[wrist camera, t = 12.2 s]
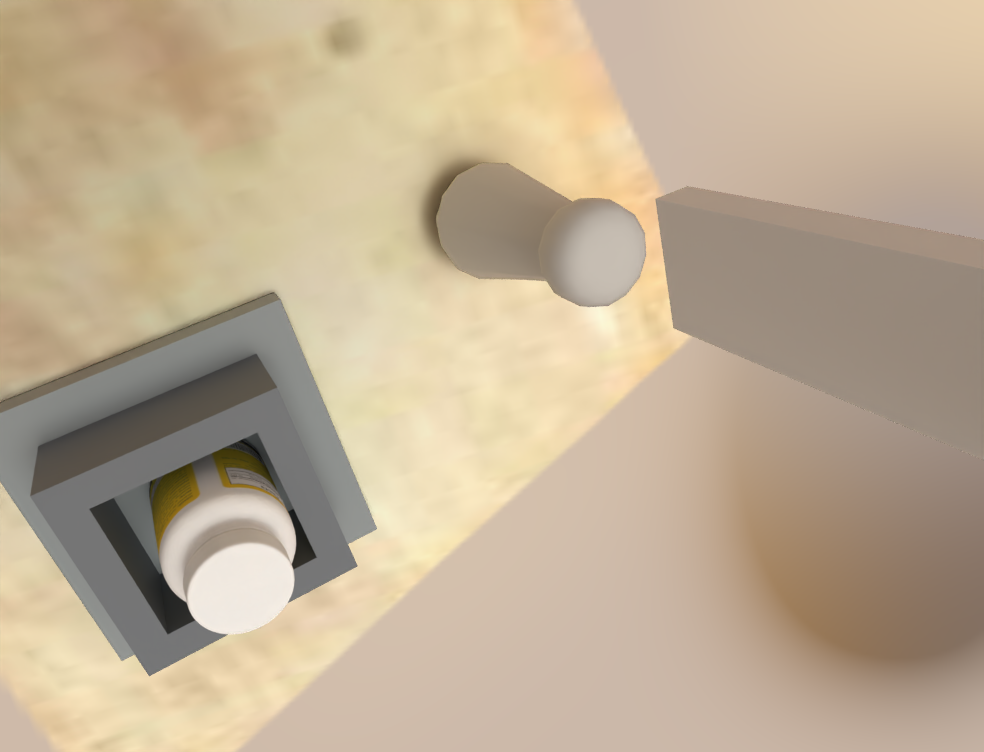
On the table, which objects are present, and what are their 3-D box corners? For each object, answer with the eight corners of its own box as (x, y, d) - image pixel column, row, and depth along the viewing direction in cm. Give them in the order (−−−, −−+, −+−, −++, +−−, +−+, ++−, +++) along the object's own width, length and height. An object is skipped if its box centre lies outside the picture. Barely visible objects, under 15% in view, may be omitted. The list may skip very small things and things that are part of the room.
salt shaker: (505, 278, 43) (646, 342, 32) (410, 259, 40) (528, 321, 29) (532, 173, 42) (689, 201, 31) (436, 145, 39) (570, 165, 28)
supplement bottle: (163, 544, 38) (182, 671, 29) (135, 445, 36) (147, 551, 27) (275, 512, 40) (322, 622, 31) (255, 415, 38) (299, 507, 29)
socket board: (-32, 415, 34) (-56, 477, 28) (273, 292, 38) (304, 326, 32) (120, 642, 40) (124, 730, 34) (368, 516, 44) (407, 576, 38)
